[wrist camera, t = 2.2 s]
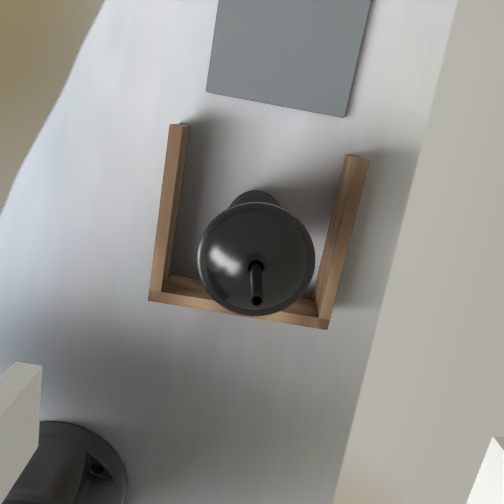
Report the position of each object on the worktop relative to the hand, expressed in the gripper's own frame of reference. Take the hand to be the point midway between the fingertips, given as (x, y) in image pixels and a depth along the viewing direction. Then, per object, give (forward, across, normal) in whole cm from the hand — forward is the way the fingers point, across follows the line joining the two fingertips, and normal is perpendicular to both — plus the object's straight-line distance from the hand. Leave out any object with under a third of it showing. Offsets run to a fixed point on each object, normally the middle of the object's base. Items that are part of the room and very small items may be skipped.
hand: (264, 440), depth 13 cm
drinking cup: (+31, 0, 0) cm, 31 cm away
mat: (+30, 0, +16) cm, 34 cm away
